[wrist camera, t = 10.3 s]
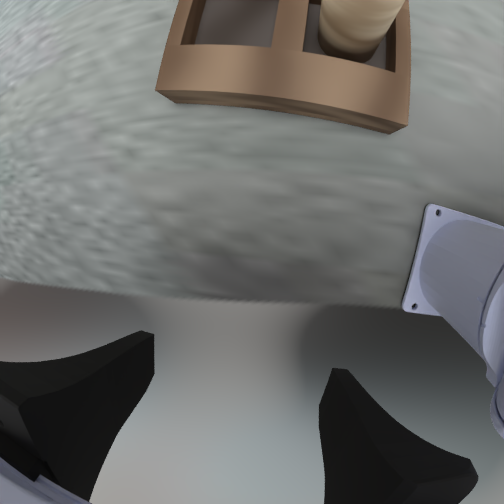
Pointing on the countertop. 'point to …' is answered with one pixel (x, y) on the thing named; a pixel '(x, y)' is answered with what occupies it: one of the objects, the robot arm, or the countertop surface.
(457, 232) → the robot arm
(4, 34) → the countertop surface
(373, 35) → the beech pin
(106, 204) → the countertop surface
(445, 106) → the countertop surface
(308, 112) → the block
